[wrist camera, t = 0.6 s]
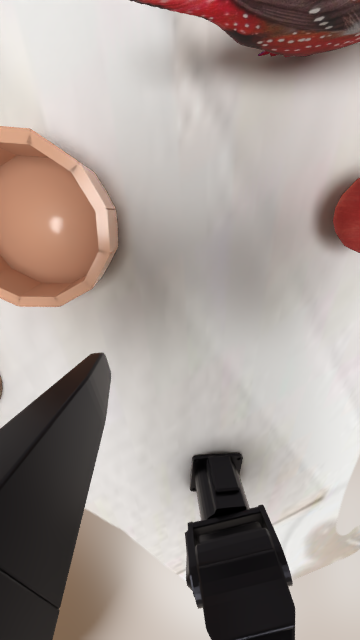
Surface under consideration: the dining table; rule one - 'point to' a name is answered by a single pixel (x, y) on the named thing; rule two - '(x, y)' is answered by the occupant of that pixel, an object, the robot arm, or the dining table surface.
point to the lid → (0, 387)
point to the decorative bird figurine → (278, 22)
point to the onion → (349, 217)
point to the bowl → (50, 222)
